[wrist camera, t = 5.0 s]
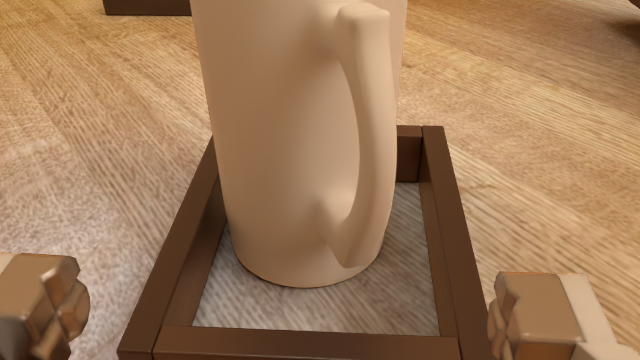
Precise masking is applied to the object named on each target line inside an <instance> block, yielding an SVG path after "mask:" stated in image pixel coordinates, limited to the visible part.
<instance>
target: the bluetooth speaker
mask: <svg viewBox="0 0 640 360" xmlns="http://www.w3.org/2000/svg"><path fill="white" fill-rule="evenodd" d="M629 1H630V2H631V3H632V4H634V5H635V6H636V7H638V8H639V9H640V0H629Z"/></svg>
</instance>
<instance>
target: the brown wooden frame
mask: <svg viewBox="0 0 640 360" xmlns="http://www.w3.org/2000/svg"><path fill="white" fill-rule="evenodd" d="M396 128H397V163H396V179H395V181H410V182H417V181H418V182H419V189H420V196H421V203H422V210H423V217H424V224H425V231H426V238H427V245H428V252H429V259H430V266H431V273H432V280H433V287H434V294H435V301H436V308H437V315H438V322H439V329H440V336H441V337H437V336H413V335H389V334H365V333H341V332H317V331H292V330H268V329H244V328H220V327H196V326H192V323H193V320H194V317H195V314H196V311H197V308H198V305H199V302H200V298H201V295H202V292H203V289H204V286H205V283H206V280H207V277H208V274H209V271H210V268H211V264H212V261H213V258H214V255H215V252H216V249H217V246H218V243H219V240H220V237H221V234H222V231H223V227H224V224H225V221H226V218H227V216H226V211H225V206H224V200H223V194H222V188H221V182H220V176H219V169H218V163H217V157H216V151H215V145H214V139H213V134H212V137H211V139H210V141H209V143H208V146H207V148H206V150H205V152H204V155H203V157H202V159H201V161H200V164H199V166H198V168H197V170H196V173H195V175H194V177H193V179H192V182H191V184H190V186H189V188H188V191H187V193H186V195H185V197H184V200H183V202H182V204H181V206H180V209H179V211H178V213H177V215H176V218H175V220H174V222H173V224H172V227H171V229H170V231H169V233H168V236H167V238H166V240H165V242H164V244H163V247H162V249H161V251H160V253H159V256H158V258H157V260H156V262H155V265H154V267H153V269H152V271H151V274H150V276H149V278H148V280H147V283H146V285H145V287H144V289H143V292H142V294H141V296H140V298H139V301H138V303H137V305H136V307H135V310H134V312H133V314H132V316H131V319H130V321H129V323H128V325H127V328H126V330H125V332H124V334H123V337H122V339H121V341H120V343H119V346H118V348H117V355H118V358H119V360H498V359H497V358H496V357H495V356H494V355H493V354H492V353H491V352H490V347H489V342H488V335H487V315H488V311H487V307H486V303H485V299H484V294H483V290H482V286H481V282H480V278H479V274H478V269H477V265H476V261H475V257H474V253H473V249H472V245H471V240H470V236H469V232H468V228H467V224H466V220H465V215H464V211H463V207H462V203H461V199H460V195H459V190H458V186H457V182H456V178H455V174H454V170H453V165H452V161H451V157H450V153H449V149H448V145H447V140H446V136H445V132H444V128H443V126H422V127H421V126H409V125H396Z"/></svg>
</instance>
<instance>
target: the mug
mask: <svg viewBox="0 0 640 360" xmlns="http://www.w3.org/2000/svg"><path fill="white" fill-rule="evenodd" d="M407 3H408V0H190V5H191V11H192V17H193V23H194V29H195V35H196V40H197V46H198V52H199V58H200V64H201V69H202V75H203V81H204V87H205V93H206V98H207V104H208V110H209V116H210V122H211V128H212V133H213V139H214V145H215V151H216V157H217V163H218V169H219V176H220V182H221V188H222V194H223V200H224V206H225V211H226V216H227V221H228V226H229V231H230V236H231V241H232V245H233V249H234V251H235V253H236V255H237V257H238V259H239V260H240V262H241V263H242V264H243V265H244V266H245V267H246V268H247V269H248V270H249V271H251V272H252V273H254V274H255V275H257V276H259V277H261V278H263V279H265V280H267V281H270V282H272V283H276V284H279V285H284V286H289V287H299V288H311V287H321V286H327V285H332V284H336V283H339V282H342V281H344V280H347V279H349V278H351V277H353V276H355V275H357V274H358V273H360V272H361V271H363V270H364V269H365V268H367V267H368V266H369V265H370V264H371V263H372V262H373V261H374V260H375V258H376V257H377V255H378V254H379V252H380V249H381V247H382V244H383V240H384V232H385V230H386V227H387V223H388V220H389V216H390V212H391V207H392V202H393V196H394V188H395V179H396V163H397V128H396V114H397V104H398V94H399V84H400V74H401V64H402V54H403V44H404V34H405V24H406V14H407Z"/></svg>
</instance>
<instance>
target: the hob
mask: <svg viewBox="0 0 640 360" xmlns="http://www.w3.org/2000/svg"><path fill="white" fill-rule="evenodd" d="M103 5H104V9H105V13H106V15H192V11H191V5H190V0H103Z"/></svg>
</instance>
